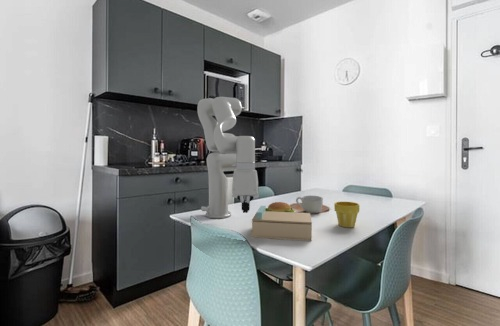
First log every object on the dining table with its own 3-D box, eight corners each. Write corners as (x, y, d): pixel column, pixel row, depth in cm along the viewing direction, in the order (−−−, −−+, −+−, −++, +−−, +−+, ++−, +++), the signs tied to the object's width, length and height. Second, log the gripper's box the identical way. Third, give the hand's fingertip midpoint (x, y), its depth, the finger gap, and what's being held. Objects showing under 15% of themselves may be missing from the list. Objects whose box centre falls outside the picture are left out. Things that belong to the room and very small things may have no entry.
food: (284, 214, 139) (284, 198, 138) (298, 221, 126) (299, 204, 125) (259, 216, 134) (259, 200, 133) (272, 224, 121) (272, 206, 120)
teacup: (325, 211, 145) (325, 196, 144) (318, 215, 135) (319, 199, 135) (300, 208, 152) (300, 194, 152) (293, 212, 143) (293, 197, 142)
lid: (252, 220, 102) (252, 212, 102) (257, 212, 116) (257, 205, 116) (311, 223, 98) (311, 215, 98) (310, 214, 112) (310, 207, 112)
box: (252, 237, 103) (252, 221, 102) (257, 226, 116) (257, 212, 116) (311, 240, 99) (311, 224, 98) (309, 229, 113) (310, 215, 112)
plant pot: (329, 223, 122) (329, 202, 121) (347, 221, 125) (348, 200, 125) (344, 230, 112) (345, 206, 111) (364, 227, 116) (365, 205, 115)
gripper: (225, 167, 106) (225, 213, 107) (262, 167, 104) (262, 215, 105) (229, 166, 114) (230, 209, 115) (265, 166, 111) (265, 210, 112)
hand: (245, 211), depth 110 cm, fingers closed
